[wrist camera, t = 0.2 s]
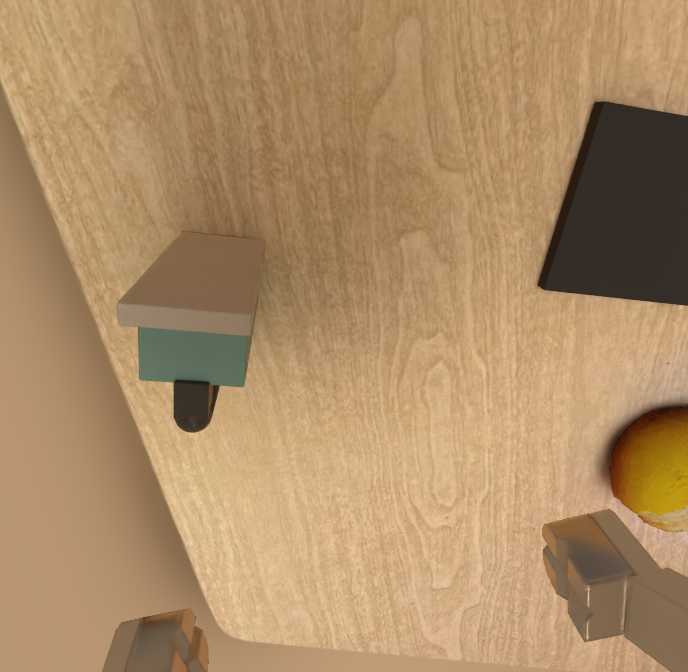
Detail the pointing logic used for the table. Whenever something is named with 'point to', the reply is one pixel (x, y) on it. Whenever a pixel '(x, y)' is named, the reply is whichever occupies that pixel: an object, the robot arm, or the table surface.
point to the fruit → (654, 469)
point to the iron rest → (625, 210)
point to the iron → (196, 319)
